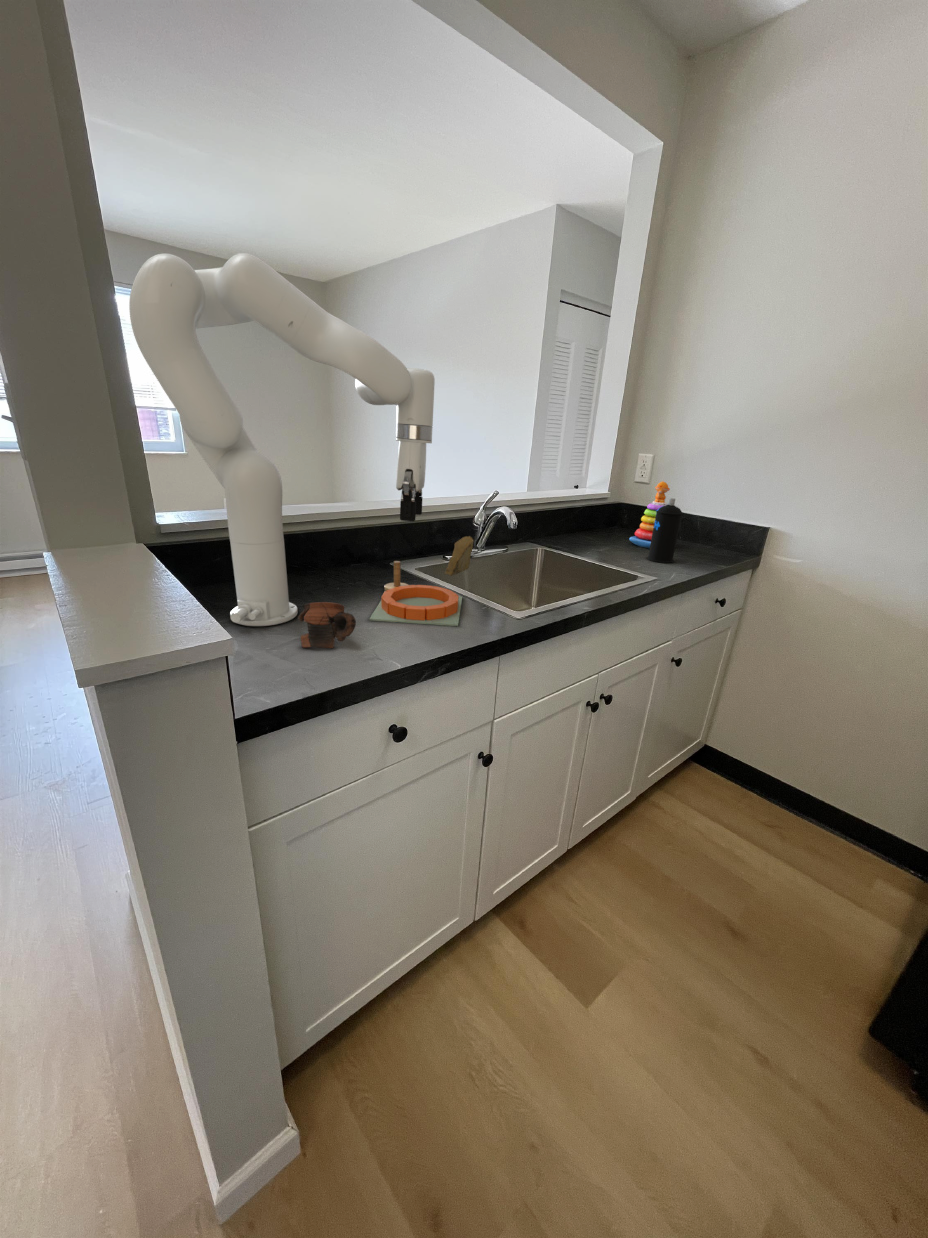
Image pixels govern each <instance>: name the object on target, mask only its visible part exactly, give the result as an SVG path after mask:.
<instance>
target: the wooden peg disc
mask: <svg viewBox="0 0 928 1238" xmlns="http://www.w3.org/2000/svg"><path fill="white" fill-rule="evenodd" d="M401 568H402V567H401V561H400V560H394V561H393V582H389V583H386V584H384V592H385V591H386V590H389V589H392V588H395V587H399V586H408V585H409V584H408V583H406V582H401V572H402V571H401Z"/></svg>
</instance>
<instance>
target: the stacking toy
mask: <svg viewBox="0 0 928 1238" xmlns="http://www.w3.org/2000/svg"><path fill="white" fill-rule="evenodd" d="M654 490H655V491H656V494H655V496H654V498H655V499H654V500H653V501H652V502H651V503H648V505H647V506H646V509H645V510H644V512H643V514H644V515H642V516H641V518H640V521H641V523H640V524H639V528H637V529H636V530H635V531H634V536H630V537H629V540H628V541H630V542H631V543H633V544H634V545H636V546H637V547H641V548H645V549H650V544H651V539H652V533H653V528H654V523H655V518H656V510H658V509H659V508H660V507H662V506H666V505H668V502H666V499H667V497H666V493H667V492H669V491H670V487H669V484H668V483H667V482H666V481H663V480H662V481H660V482H658V483H657V485H656V486H655V487H654Z"/></svg>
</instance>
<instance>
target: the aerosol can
mask: <svg viewBox="0 0 928 1238" xmlns="http://www.w3.org/2000/svg"><path fill="white" fill-rule="evenodd" d="M675 503H676V498H675V497H669V498H668V502H667V505H666V506H662V507H660V508H659V509H658V510H656V518H655V523H654V528H653V533H652V539H651V544H650V548H648V549H649V550H648V555H647V557H646V558H647V560H648V561H650V562H653V563H660V564H672V563H674V556H675V551H676V547H677V541H678V537H679V536H678V535H679V531H680V527H681V522H682V518H683V515H684V512H683V511H682V510H681V508H680V507H678V506H676V505H675Z"/></svg>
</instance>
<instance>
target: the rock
mask: <svg viewBox="0 0 928 1238" xmlns="http://www.w3.org/2000/svg"><path fill="white" fill-rule="evenodd" d="M474 543H475V542H474V539H473V537H472V536H471V535H469V536H466V535H465V536H463V537H462V538H460V539H458V540H457V541H456V542H454V549H453V551H452V555H451V557H450V559H449V560H448V564H447V567H446V569H445V572H444V574H445V575H448V576H455V575H457V574H459V573H462V572H464V571H467V570H469V568H470V561H471V556H472V551H473V548H474Z"/></svg>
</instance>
